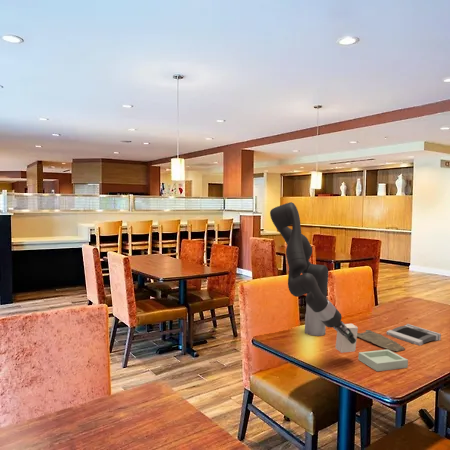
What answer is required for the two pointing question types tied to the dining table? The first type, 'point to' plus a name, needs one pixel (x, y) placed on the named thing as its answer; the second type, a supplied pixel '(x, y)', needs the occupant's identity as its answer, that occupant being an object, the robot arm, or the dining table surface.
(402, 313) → the dining table surface
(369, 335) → the stone tool
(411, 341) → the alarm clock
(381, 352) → the pale green tray
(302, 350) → the dining table surface
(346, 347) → the gray block
